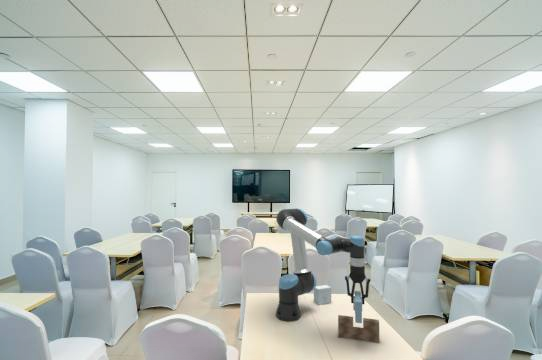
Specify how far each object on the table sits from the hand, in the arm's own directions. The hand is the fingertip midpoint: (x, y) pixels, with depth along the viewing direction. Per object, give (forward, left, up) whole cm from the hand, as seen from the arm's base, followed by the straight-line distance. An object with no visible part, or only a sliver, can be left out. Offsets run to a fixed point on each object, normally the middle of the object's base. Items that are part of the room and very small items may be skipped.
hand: (357, 309), depth 148 cm
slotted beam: (0, -5, -12) cm, 14 cm away
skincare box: (-22, +38, -13) cm, 45 cm away
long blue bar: (0, -6, -1) cm, 6 cm away
